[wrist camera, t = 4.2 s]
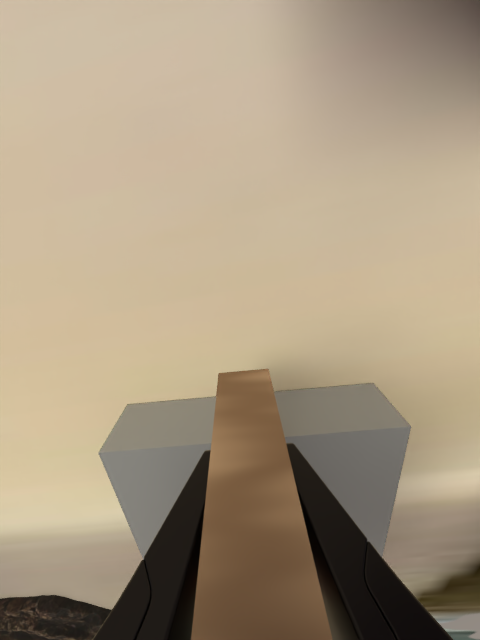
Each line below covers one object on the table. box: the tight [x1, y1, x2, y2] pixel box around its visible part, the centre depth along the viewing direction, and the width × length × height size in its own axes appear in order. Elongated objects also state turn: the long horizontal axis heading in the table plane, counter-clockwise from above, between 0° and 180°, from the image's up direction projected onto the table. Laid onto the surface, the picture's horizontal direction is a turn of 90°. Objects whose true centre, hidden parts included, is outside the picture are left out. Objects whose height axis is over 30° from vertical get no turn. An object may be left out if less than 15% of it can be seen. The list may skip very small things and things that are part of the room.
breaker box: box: [99, 383, 411, 560], centre depth 20 cm, size 20×16×4 cm
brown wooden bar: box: [191, 369, 333, 640], centre depth 7 cm, size 2×2×10 cm
